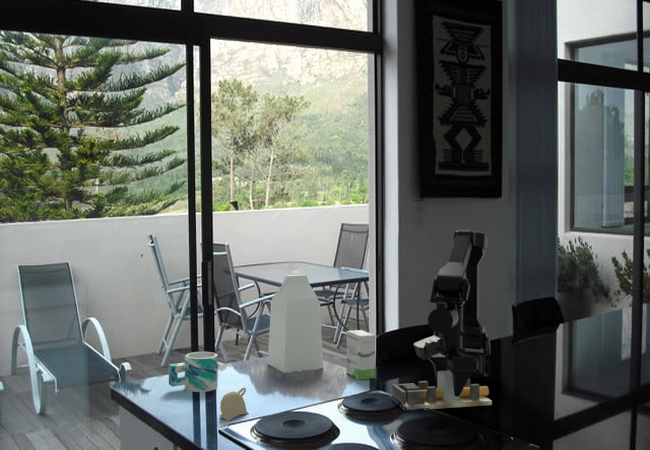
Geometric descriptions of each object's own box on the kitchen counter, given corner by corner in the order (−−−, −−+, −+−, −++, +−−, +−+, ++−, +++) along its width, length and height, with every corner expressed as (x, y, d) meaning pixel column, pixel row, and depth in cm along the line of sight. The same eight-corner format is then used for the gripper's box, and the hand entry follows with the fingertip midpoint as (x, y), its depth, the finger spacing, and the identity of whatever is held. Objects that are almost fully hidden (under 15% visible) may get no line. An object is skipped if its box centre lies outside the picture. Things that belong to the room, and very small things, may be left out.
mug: (222, 389, 183) (222, 356, 183) (176, 395, 177) (176, 361, 177) (209, 382, 190) (209, 350, 190) (164, 388, 184) (164, 355, 184)
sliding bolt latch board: (474, 394, 182) (474, 376, 181) (491, 404, 173) (492, 386, 173) (390, 399, 176) (390, 381, 176) (404, 410, 167) (404, 391, 167)
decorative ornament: (214, 417, 160) (214, 393, 160) (240, 409, 167) (240, 385, 167) (227, 421, 158) (227, 397, 158) (253, 412, 165) (254, 389, 164)
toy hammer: (482, 393, 179) (483, 368, 179) (490, 397, 176) (491, 372, 175) (402, 398, 174) (402, 373, 174) (408, 402, 170) (408, 377, 170)
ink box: (375, 378, 196) (376, 334, 196) (359, 380, 194) (360, 336, 194) (361, 371, 204) (361, 329, 204) (345, 372, 202) (345, 330, 201)
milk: (284, 372, 201) (285, 278, 200) (267, 363, 211) (268, 273, 210) (323, 368, 206) (324, 276, 205) (305, 360, 217) (306, 272, 215)
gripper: (404, 320, 181) (402, 382, 182) (434, 334, 163) (432, 404, 164) (445, 318, 184) (444, 380, 185) (480, 333, 166) (478, 401, 167)
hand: (448, 391), depth 175 cm, fingers open, 9 cm apart
